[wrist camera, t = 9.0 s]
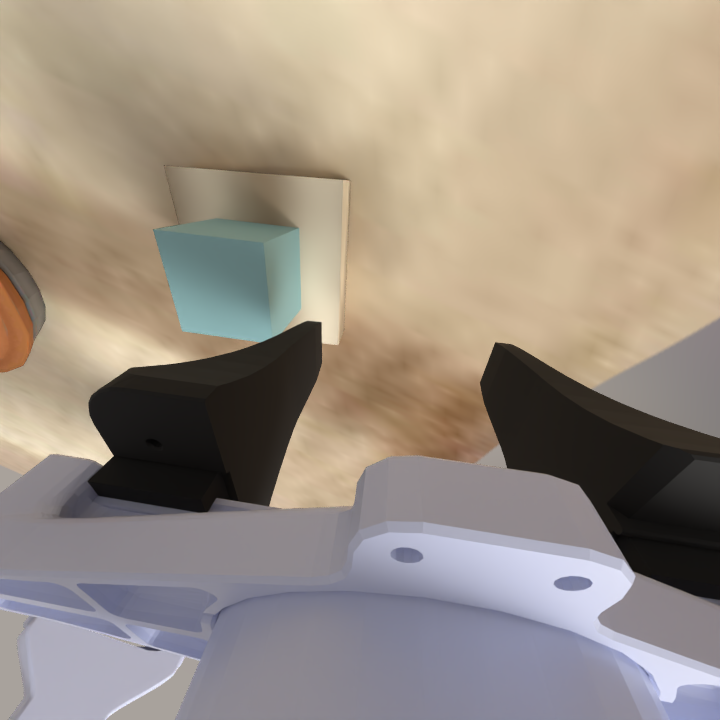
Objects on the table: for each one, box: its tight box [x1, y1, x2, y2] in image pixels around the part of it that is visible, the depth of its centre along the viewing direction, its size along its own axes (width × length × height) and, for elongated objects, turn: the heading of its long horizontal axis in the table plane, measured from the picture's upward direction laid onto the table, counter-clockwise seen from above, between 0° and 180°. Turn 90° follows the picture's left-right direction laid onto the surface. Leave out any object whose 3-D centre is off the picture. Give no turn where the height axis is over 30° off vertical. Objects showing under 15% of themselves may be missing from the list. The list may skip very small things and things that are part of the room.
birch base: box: [164, 165, 350, 345], centre depth 19 cm, size 10×10×2 cm
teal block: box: [153, 218, 301, 342], centre depth 15 cm, size 5×5×5 cm
